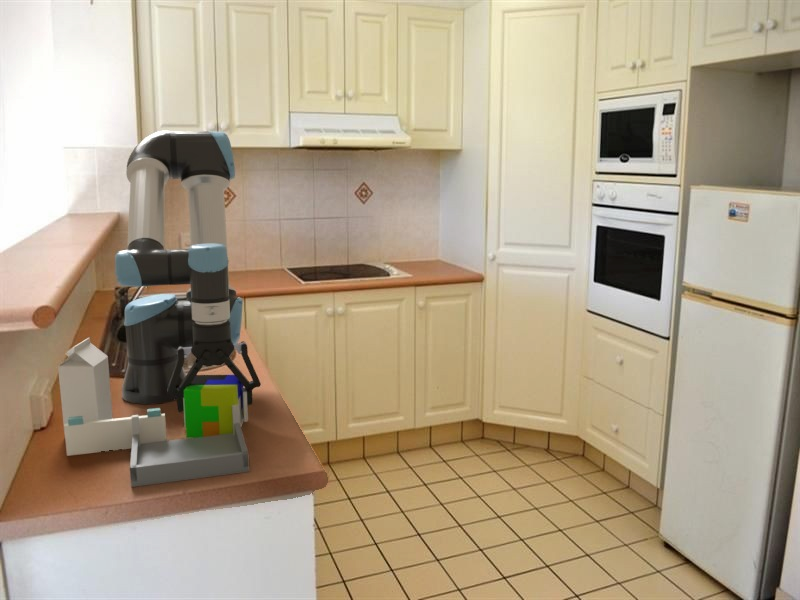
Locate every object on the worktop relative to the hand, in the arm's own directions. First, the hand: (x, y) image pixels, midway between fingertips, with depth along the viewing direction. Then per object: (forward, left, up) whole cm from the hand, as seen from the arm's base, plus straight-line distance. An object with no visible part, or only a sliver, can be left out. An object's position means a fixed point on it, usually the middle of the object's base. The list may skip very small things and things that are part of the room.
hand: (216, 422), depth 148 cm
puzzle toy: (0, 0, -1) cm, 1 cm away
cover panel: (+5, -19, -1) cm, 20 cm away
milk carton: (-6, -25, -1) cm, 26 cm away
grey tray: (+15, -6, -1) cm, 16 cm away
